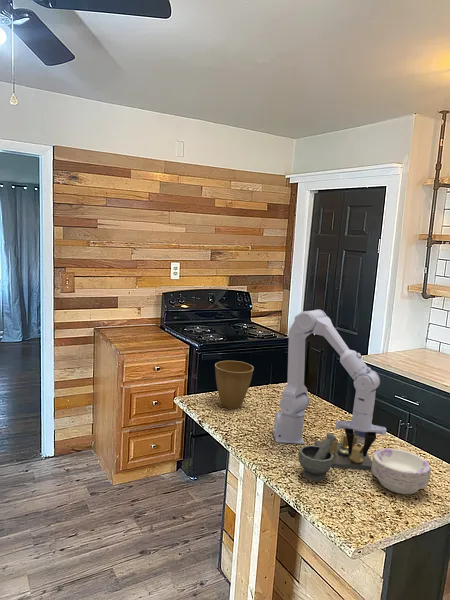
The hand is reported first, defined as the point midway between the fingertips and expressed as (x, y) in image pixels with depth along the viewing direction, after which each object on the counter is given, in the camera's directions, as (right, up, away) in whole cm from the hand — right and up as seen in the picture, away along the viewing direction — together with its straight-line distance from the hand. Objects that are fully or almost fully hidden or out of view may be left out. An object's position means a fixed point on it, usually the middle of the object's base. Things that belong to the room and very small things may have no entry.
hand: (357, 453), depth 142 cm
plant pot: (-38, +5, +39) cm, 55 cm away
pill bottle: (+7, -2, +18) cm, 20 cm away
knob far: (0, -1, +9) cm, 9 cm away
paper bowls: (+8, -6, -10) cm, 14 cm away
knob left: (-8, -1, +4) cm, 9 cm away
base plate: (-3, -2, +5) cm, 6 cm away
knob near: (0, -2, 0) cm, 2 cm away
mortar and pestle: (-14, -3, -9) cm, 17 cm away
